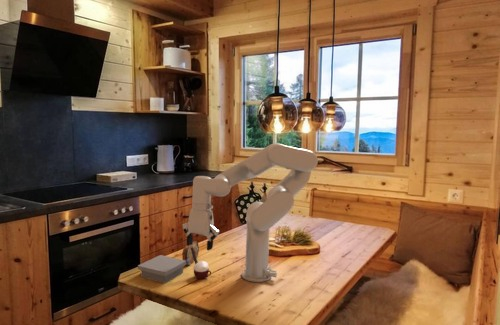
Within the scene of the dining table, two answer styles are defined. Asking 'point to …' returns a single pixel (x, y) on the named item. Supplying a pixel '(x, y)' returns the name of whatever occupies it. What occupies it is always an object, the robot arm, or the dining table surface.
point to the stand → (162, 268)
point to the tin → (190, 253)
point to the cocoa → (200, 267)
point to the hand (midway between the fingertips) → (199, 247)
